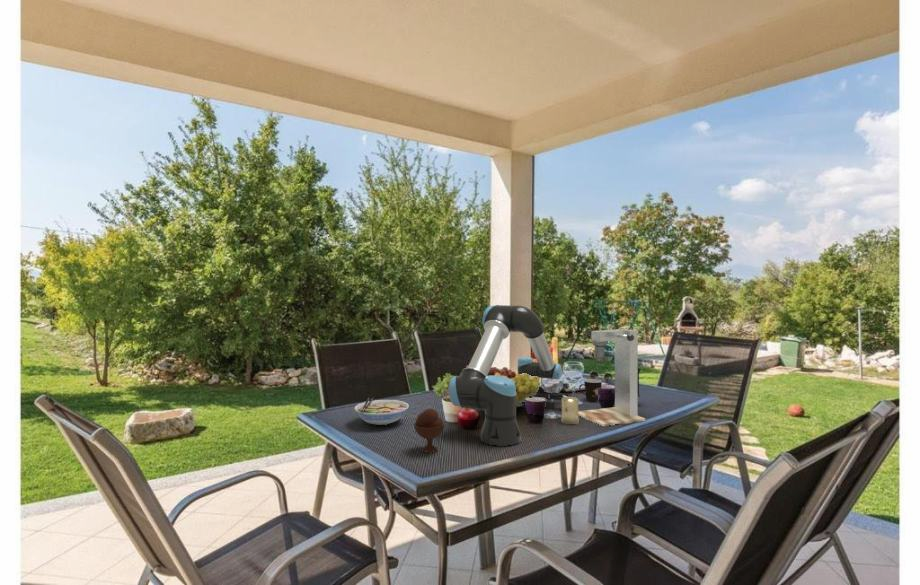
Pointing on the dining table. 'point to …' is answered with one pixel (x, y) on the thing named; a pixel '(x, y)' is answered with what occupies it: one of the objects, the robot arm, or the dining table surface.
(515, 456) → the dining table surface
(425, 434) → the ice cream bowl
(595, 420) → the plate
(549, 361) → the robot arm
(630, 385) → the press frame
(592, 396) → the coffee mug
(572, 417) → the cream pillar candle
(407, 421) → the dining table surface
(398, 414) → the ramen bowl
